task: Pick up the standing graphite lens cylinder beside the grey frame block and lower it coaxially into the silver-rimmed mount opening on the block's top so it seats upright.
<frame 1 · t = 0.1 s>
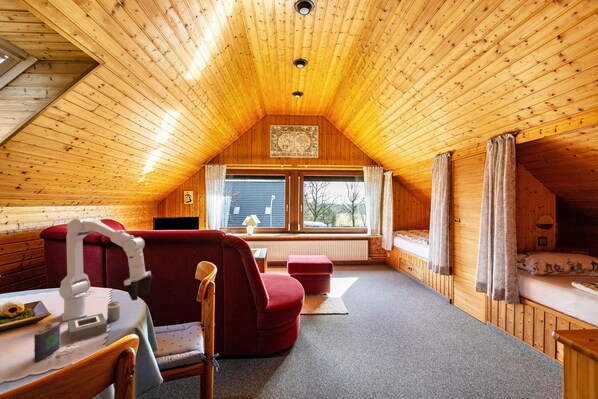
hand: (140, 296, 114), 10 cm above the table, tool pointing down, fingers open, 7 cm apart
grey frame block: (87, 330, 105), on the table
flask: (47, 354, 89), on the table
lens: (113, 319, 115), on the table
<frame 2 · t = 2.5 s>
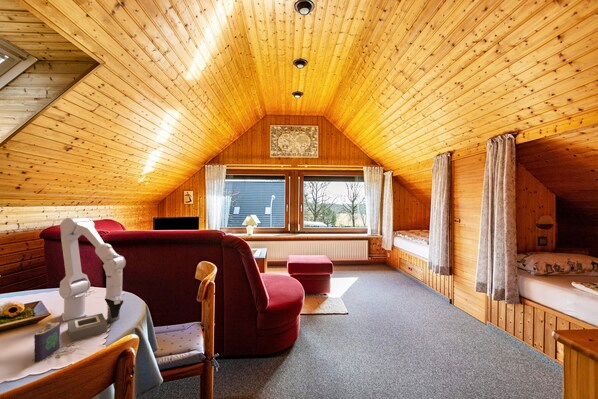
hand: (113, 315, 115), 2 cm above the table, tool pointing down, fingers closed on lens, 4 cm apart
lens: (113, 319, 115), on the table, touching gripper
everything else where it was.
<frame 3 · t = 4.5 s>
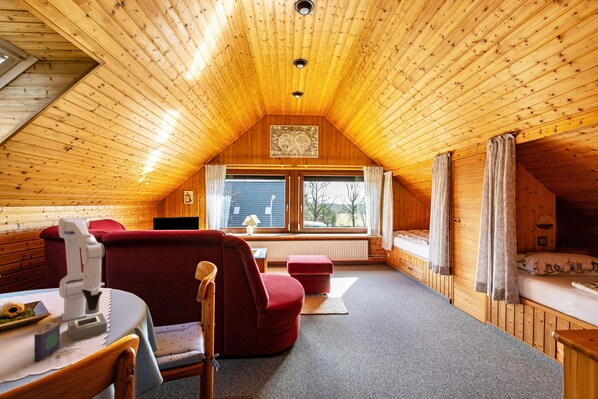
hand: (91, 307, 106), 9 cm above the table, tool pointing down, fingers closed on lens, 4 cm apart
lens: (91, 312, 106), point 7 cm above the table, touching gripper
everything else where it was.
when the fingers open (4 cm above the table, at t = 6.3 s): lens drops 3 cm, resting in grey frame block.
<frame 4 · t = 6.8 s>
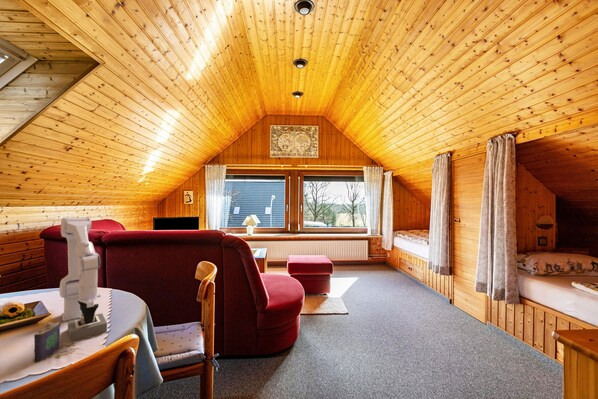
hand: (87, 319, 105), 4 cm above the table, tool pointing down, fingers open, 7 cm apart
lens: (87, 330, 105), resting in grey frame block
everything else where it was.
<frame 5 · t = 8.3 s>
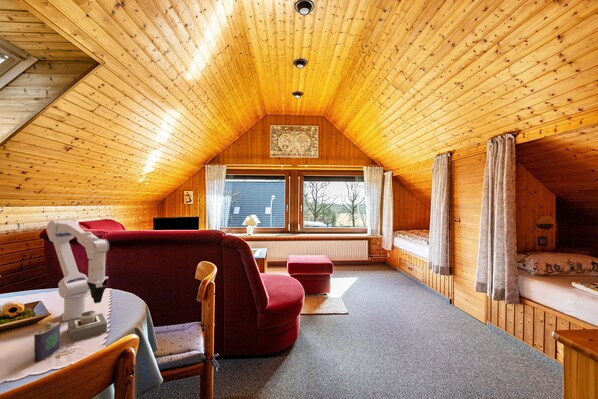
hand: (96, 300, 112), 9 cm above the table, tool pointing down, fingers open, 7 cm apart
nothing on the table moved.
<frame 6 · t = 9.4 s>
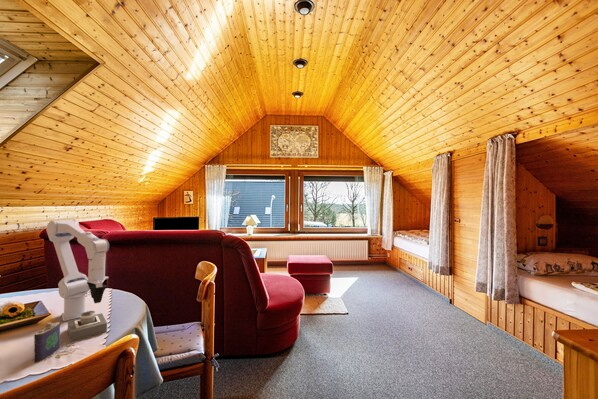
hand: (96, 300, 112), 9 cm above the table, tool pointing down, fingers open, 7 cm apart
nothing on the table moved.
at the end: lens 0.2 cm off-centre on the grey frame block, point 0.0 cm above the grey frame block's base; lens tilted 1°; the gripper is holding nothing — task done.
